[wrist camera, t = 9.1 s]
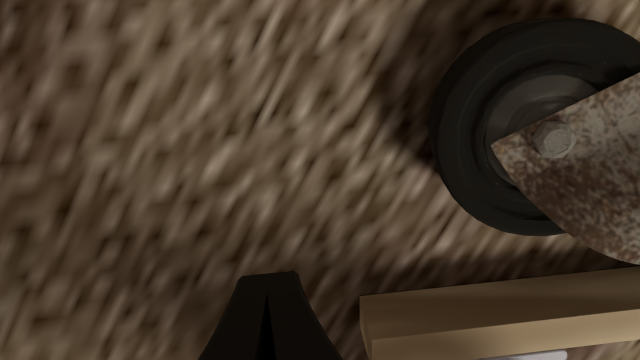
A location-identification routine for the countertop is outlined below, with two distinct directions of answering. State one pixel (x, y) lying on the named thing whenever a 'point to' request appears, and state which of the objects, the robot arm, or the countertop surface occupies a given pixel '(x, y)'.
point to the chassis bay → (503, 316)
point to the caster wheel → (546, 132)
